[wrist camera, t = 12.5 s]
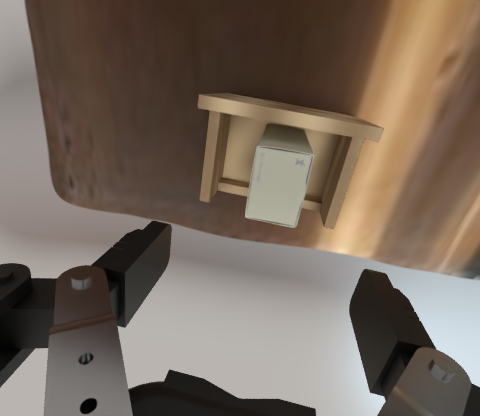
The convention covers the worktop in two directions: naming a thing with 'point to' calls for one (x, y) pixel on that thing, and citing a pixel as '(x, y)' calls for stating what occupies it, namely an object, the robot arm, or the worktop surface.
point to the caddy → (269, 112)
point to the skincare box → (279, 176)
